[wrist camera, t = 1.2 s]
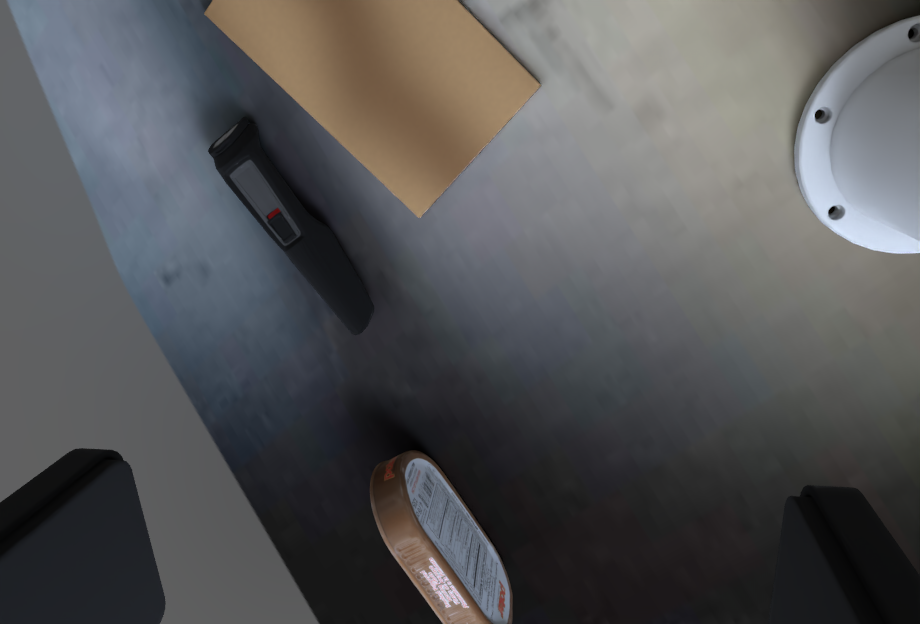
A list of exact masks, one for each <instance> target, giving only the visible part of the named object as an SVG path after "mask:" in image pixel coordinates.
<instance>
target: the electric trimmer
mask: <svg viewBox="0 0 920 624" xmlns="http://www.w3.org/2000/svg"><path fill="white" fill-rule="evenodd" d="M248 123H249V121H248V120H247V119H246V117H243V118H242V119H241V120H240V121H239V122H237V123H236V124H235V125H234V126H233V127H232V128H230V129H229V130H228V131H227V132H226V133H225V134H223V135H222V136H221V137H220V138H219V139H217V140H216V141H215V142H214V143H213V144H212V145H211V146H210V148H209V150H208V152H209V153H210V155H211V156H212V157H213V158H214V162H215V166H216V169H217V170H218V172H219V173H220V175H221V176H222V177H223V179H224V180H225V182H226V183H227V184H228V186H229V187H230V188H231V189H232V191H233V192H234V193H235V194H236V195H237V197H238V198H239V199H240V200H241V202H242V203H243V204H244V205H245V206H246V208H247V209H248V210H249V211H250V212H251V214H252V215H253V216H254V217H255V219H256V220H257V221H258V222H259V223H260V225H261V226H262V227H263V228H264V230H265V231H266V232H267V233H268V234H269V236H270V237H271V238H272V239H273V240H274V241H275V242H276V243H277V245H278V246H279V247H280V248H281V249H282V250H283V251H284V252H285V254H286V255H287V256H288V257H289V259H290V260H291V261H292V263H293V264H294V265H295V266H296V267H297V269H298V270H299V271H300V272H301V273H302V275H303V276H304V277H305V278H306V279H307V281H308V282H309V283H310V284H311V285H312V287H313V288H314V289H315V290H316V291H317V293H318V294H319V295H320V296H321V297H322V299H323V300H324V301H325V302H326V303H327V305H328V306H329V307H330V308H331V309H332V310H333V312H334V313H335V314H336V315H337V317H338V318H339V319H340V320H341V321H342V323H343V324H344V325H345V326H346V327H347V329H348V330H349V331H350V332H351V333H352V334H354V335H358V334H360V333H362V332H363V331H364V330H365V328H366V327H367V326H368V324H369V322H370V320H371V317H372V315H373V313H374V305H373V303H372V301H371V300H370V298H369V296H368V294H367V292H366V290H365V288H364V286H363V285H362V283H361V281H360V279H359V278H358V276H357V274H356V272H355V271H354V269H353V267H352V265H351V264H350V262H349V260H348V258H347V257H346V255H345V253H344V251H343V250H342V248H341V246H340V244H339V243H338V241H337V239H336V238H335V236H334V235H333V233H332V231H331V230H330V228H329V227H328V226H327V225H325V224H323V223H321V222H319V221H318V220H316V219H315V218H313V217H312V216H311V215H310V214H309V213H308V212H307V211H306V210H305V209H304V207H303V206H302V205H301V203H300V202H299V200H298V199H297V198H296V196H295V195H294V193H293V192H292V191H291V189H290V188H289V187H288V185H287V184H286V182H285V181H284V180H283V178H282V177H281V175H280V174H279V173H278V171H277V170H276V169H275V167H274V166H273V164H272V163H271V162H270V160H269V159H268V157H267V156H266V155H265V153H264V152H263V151H262V149H261V147H260V143H259V132H258V128H257V126H256V124H251V123H249V124H248Z"/></svg>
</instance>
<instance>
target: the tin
mask: <svg viewBox="0 0 920 624" xmlns="http://www.w3.org/2000/svg"><path fill="white" fill-rule="evenodd" d="M370 499H371V506H372V510H373V514H374V517H375V520H376V523H377V526H378V529H379V531H380V533H381V536H382V538H383V540H384V542H385V544H386V545H387V547H388V549H389V550H390V552H391V553H392V555H393V556H394V557H395V559H396V560H397V561H398V563H399V564H400V566H401V567H402V568H403V570H404V571H405V572H406V574H407V575H408V576H409V578H410V579H411V581H412V582H413V583H414V585H415V586H416V587H417V589H418V590H419V591H420V593H421V594H422V595H423V597H424V598H425V600H426V601H427V602H428V604H429V605H430V606H431V608H432V609H433V611H434V612H435V613H436V615H437V616H438V617H439V619H440V620H441V622H442V623H443V624H512V590H511V586H510V582H509V579H508V576H507V573H506V570H505V567H504V565H503V563H502V560H501V558H500V556H499V554H498V552H497V551H496V549H495V547H494V545H493V544H492V542H491V541H490V540H489V538H488V536H487V535H486V533H485V532H484V531H483V529H482V528H481V526H480V525H479V523H478V522H477V520H476V519H475V517H474V516H473V514H472V513H471V511H470V510H469V509H468V507H467V506H466V504H465V503H464V501H463V500H462V498H461V497H460V496H459V494H458V493H457V491H456V490H455V488H454V487H453V486H452V484H451V483H450V481H449V480H448V478H447V477H446V476H445V474H444V473H443V471H442V470H441V469H440V468H439V466H438V465H437V464H436V463H435V462H434V461H433V460H432V459H431V458H430V457H428V456H427V455H426V454H424V453H422V452H420V451H415V450H411V451H407V452H404V453H402V454H400V455H398V456H396V457H394V458H392V459H390V460H388V461H384V462H381V463H379V464H378V465H377V466H376V467H375V469H374V471H373V473H372V476H371V481H370Z"/></svg>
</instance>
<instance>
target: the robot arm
mask: <svg viewBox="0 0 920 624" xmlns="http://www.w3.org/2000/svg"><path fill="white" fill-rule="evenodd" d="M910 29H912V30H913V31H914V35H913V37H912V38H910V39H909V37H908V31H909V30H910ZM817 110H821V111H822V116H821V117H820V118H819V119H816V118H815V112H816V111H817ZM794 159H795V172H796V176H797V180H798V184H799V188H800V191H801V193H802V195H803V197H804V198H805V200H806V202H807V204H808V206H809V208H810V209H811V210H812V211H813V213H814V214H815V215H816V216H817V217H818V219H819V220H820V221H821V222H822V223H823V224H824V225H826V226H827V227H828V228H830V229H831V230H832V231H834V232H835V233H836V234H838V235H839V236H841V237H843V238H845V239H847V240H849V241H850V242H852V243H854V244H857V245H860V246H863V247H866V248H868V249H871V250H876V251H882V252H889V253H920V15H918V16H915V17H911V18H907V19H903V20H900V21H898V22H896V23H893V24H891V25H889V26H887V27H884V28H882V29H880V30H878V31H876V32H874V33H873V34H871V35H870V36H868V37H866V38H865V39H863V40H862V41H860V42H859V43H857V44H856V45H854V46H853V47H852V48H851V49H850V50H848V51H847V52H846V53H845V54H844V55H843V56H842V57H841V58H840V59H838V60H837V61H836V62H835V63H834V64H833V65H832V67H831V68H830V69H829V70H828V72H827V73H826V74H825V75H824V76H823V78H822V79H821V80H820V81H819V83H818V84H817V86H816V87H815V89H814V91H813V93H812V95H811V96H810V98H809V100H808V102H807V103H806V105H805V108H804V111H803V113H802V116H801V119H800V122H799V125H798V128H797V134H796V140H795V147H794ZM832 206H834V207H835V211H834V212H833V213H831V214H828V210H829V209H830V208H831V207H832ZM164 610H165V596H164V592H163V588H162V585H161V581H160V577H159V573H158V569H157V565H156V561H155V558H154V554H153V550H152V546H151V542H150V538H149V534H148V531H147V527H146V523H145V519H144V515H143V511H142V508H141V504H140V500H139V496H138V492H137V488H136V485H135V481H134V477H133V473H132V469H131V467H130V465H129V464H128V463H127V462H126V461H124V460H123V458H122V456H121V455H120V454H119V453H118V452H116V451H113V450H101V449H83V448H82V449H75V450H72V451H71V452H69V453H67V454H66V455H65V456H63V457H62V458H60V459H59V460H58V461H56V462H55V463H54V464H52V465H51V466H49V467H48V468H47V469H45V470H44V471H43V472H41V473H40V474H39V475H37V476H36V477H35V478H33V479H32V480H30V481H29V482H28V483H27V484H25V485H24V486H22V487H21V488H20V489H18V490H17V491H15V492H14V493H13V494H11V495H10V496H9V497H7V498H6V499H5V500H3V501H2V502H0V624H160V622H161V620H162V617H163V615H164ZM768 624H920V576H919V574H918V573H917V571H916V570H915V568H914V567H913V566H912V564H911V563H910V561H909V560H908V558H907V557H906V556H905V554H904V553H903V551H902V550H901V548H900V547H899V545H898V544H897V543H896V541H895V540H894V538H893V537H892V535H891V534H890V533H889V531H888V530H887V528H886V527H885V525H884V524H883V523H882V521H881V520H880V518H879V517H878V515H877V514H876V513H875V511H874V510H873V508H872V507H871V505H870V504H869V503H868V501H867V500H866V498H865V497H864V495H863V494H862V493H861V492H860V491H859V490H858V489H856V488H850V487H831V486H811V485H807V486H805V487H804V488H803V490H802V491H801V495H800V497H797V496H790V497H788V498H787V500H786V503H785V508H784V515H783V522H782V530H781V537H780V544H779V551H778V558H777V565H776V572H775V579H774V586H773V593H772V601H771V608H770V615H769V622H768Z"/></svg>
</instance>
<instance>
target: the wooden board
mask: <svg viewBox="0 0 920 624" xmlns="http://www.w3.org/2000/svg"><path fill="white" fill-rule="evenodd" d="M204 14H205V15H206V16H207V17H208V18H209V19H210V20H211V21H212V22H213V23H214V24H215V25H217V26H218V27H219V28H220V29H221V30H222V31H223V32H224V33H225V34H226V35H227V36H228V37H229V38H230V39H231V40H232V41H233V42H234V43H235V44H236V45H238V46H239V47H240V48H241V49H242V50H243V51H244V52H245V53H246V54H247V55H248V56H249V57H250V58H251V59H252V60H253V61H254V62H255V63H256V64H258V65H259V66H260V67H261V68H262V69H263V70H264V71H265V72H266V73H267V74H268V75H269V76H270V77H271V78H272V79H273V80H274V81H275V82H276V83H277V84H279V85H280V86H281V87H282V88H283V89H284V90H285V91H286V92H287V93H288V94H289V95H290V96H291V97H292V98H293V99H294V100H295V101H296V102H297V103H299V104H300V105H301V106H302V107H303V108H304V109H305V110H306V111H307V112H308V113H309V114H310V115H311V116H312V117H313V118H314V119H315V120H316V121H317V122H318V123H320V124H321V125H322V126H323V127H324V128H325V129H326V130H327V131H328V132H329V133H330V134H331V135H332V136H333V137H334V138H335V139H336V140H337V141H338V142H340V143H341V144H342V145H343V146H344V147H345V148H346V149H347V150H348V151H349V152H350V153H351V154H352V155H353V156H354V157H355V158H356V159H357V160H358V161H359V162H361V163H362V164H363V165H364V166H365V167H366V168H367V169H368V170H369V171H370V172H371V173H372V174H373V175H374V176H375V177H376V178H377V179H378V180H379V181H381V182H382V183H383V184H384V185H385V186H386V187H387V188H388V189H389V190H390V191H391V192H392V193H393V194H394V195H395V196H396V197H397V198H398V199H399V200H400V201H402V202H403V203H404V204H405V205H406V206H407V207H408V208H409V209H410V210H411V211H412V212H413V213H414V214H415V215H416V216H417V217H418V218H420V217H422V215H423V214H424V213H425V212H426V211H427V210H428V209H429V208H430V207H431V206H432V205H433V203H434V202H435V201H436V200H437V199H438V198H439V197H440V196H441V195H442V194H443V193H444V191H445V190H446V189H447V188H448V187H449V186H450V185H451V184H452V183H453V182H454V181H455V179H456V178H457V177H458V176H459V175H460V174H461V173H462V172H463V171H464V170H465V169H466V167H467V166H468V165H469V164H470V163H471V162H472V161H473V160H474V159H475V158H476V157H477V155H478V154H479V153H480V152H481V151H482V150H483V149H484V148H485V147H486V146H487V144H488V143H489V142H490V141H491V140H492V139H493V138H494V137H495V136H496V135H497V134H498V132H499V131H500V130H501V129H502V128H503V127H504V126H505V125H506V124H507V123H508V122H509V120H510V119H511V118H512V117H513V116H514V115H515V114H516V113H517V112H518V111H519V110H520V108H521V107H522V106H523V105H524V104H525V103H526V102H527V101H528V100H529V99H530V98H531V96H532V95H533V94H534V93H535V92H536V91H537V90H538V89H539V88H540V87H541V84H540V83H539V82H538V81H537V80H536V79H535V78H534V77H533V76H532V75H531V74H530V73H529V72H528V71H527V70H526V69H525V68H524V67H523V66H522V65H521V64H520V63H519V62H518V61H517V60H516V59H515V58H514V57H513V56H512V55H511V54H510V53H509V52H508V51H507V50H506V49H505V48H504V47H503V46H502V45H501V44H500V43H499V42H498V41H497V40H496V38H495V37H494V36H493V35H492V34H491V33H490V32H489V31H488V30H487V29H486V28H485V27H484V26H483V25H482V24H481V23H480V22H479V21H478V20H477V19H476V18H475V17H474V16H473V15H472V14H471V13H470V12H469V11H468V10H467V9H466V8H465V7H464V6H463V5H462V4H461V3H460V2H459V1H458V0H212V2H211V4H210V5H209V7H208V8H207V10H206V11H205V13H204Z"/></svg>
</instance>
